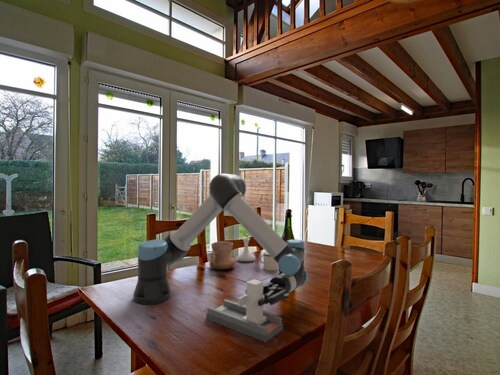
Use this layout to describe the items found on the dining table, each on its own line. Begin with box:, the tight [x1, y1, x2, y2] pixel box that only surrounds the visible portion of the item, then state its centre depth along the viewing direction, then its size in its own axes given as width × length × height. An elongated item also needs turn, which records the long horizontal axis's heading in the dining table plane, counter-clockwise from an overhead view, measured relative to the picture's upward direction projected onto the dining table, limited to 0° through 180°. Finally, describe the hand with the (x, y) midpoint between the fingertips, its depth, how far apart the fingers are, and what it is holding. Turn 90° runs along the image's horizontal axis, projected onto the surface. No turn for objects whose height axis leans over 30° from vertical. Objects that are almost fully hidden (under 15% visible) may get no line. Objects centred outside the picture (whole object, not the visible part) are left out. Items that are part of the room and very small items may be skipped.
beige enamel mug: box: [258, 250, 279, 272], centre depth 169 cm, size 12×9×12 cm
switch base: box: [205, 298, 284, 343], centre depth 103 cm, size 26×10×4 cm, turn 53°
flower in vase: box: [236, 233, 256, 262], centre depth 185 cm, size 13×11×25 cm
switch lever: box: [242, 278, 267, 325], centre depth 100 cm, size 6×6×13 cm
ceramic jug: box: [209, 241, 236, 271], centre depth 168 cm, size 18×14×14 cm
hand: (245, 304), depth 95 cm, fingers closed on switch lever, 4 cm apart
